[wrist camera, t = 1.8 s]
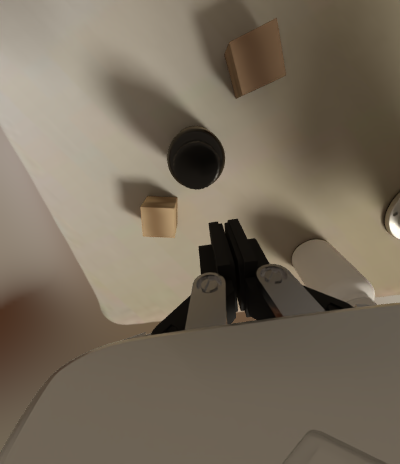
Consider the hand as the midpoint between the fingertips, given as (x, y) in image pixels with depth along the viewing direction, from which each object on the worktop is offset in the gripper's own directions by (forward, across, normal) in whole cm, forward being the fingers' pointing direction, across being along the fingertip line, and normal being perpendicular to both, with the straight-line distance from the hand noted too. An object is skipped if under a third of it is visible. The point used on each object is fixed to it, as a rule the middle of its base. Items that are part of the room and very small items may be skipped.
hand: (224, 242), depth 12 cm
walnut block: (+23, -8, -11) cm, 27 cm away
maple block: (+23, +8, +7) cm, 26 cm away
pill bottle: (+22, -19, +20) cm, 36 cm away
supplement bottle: (+23, +1, -2) cm, 23 cm away
